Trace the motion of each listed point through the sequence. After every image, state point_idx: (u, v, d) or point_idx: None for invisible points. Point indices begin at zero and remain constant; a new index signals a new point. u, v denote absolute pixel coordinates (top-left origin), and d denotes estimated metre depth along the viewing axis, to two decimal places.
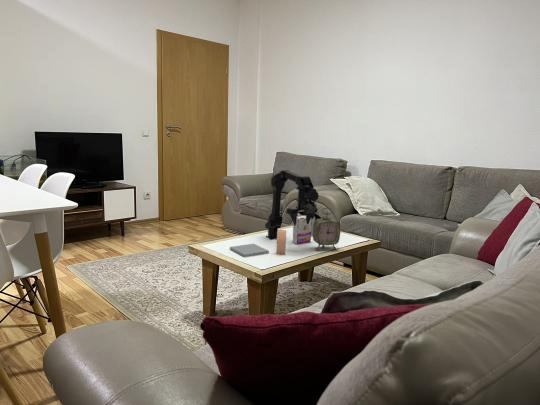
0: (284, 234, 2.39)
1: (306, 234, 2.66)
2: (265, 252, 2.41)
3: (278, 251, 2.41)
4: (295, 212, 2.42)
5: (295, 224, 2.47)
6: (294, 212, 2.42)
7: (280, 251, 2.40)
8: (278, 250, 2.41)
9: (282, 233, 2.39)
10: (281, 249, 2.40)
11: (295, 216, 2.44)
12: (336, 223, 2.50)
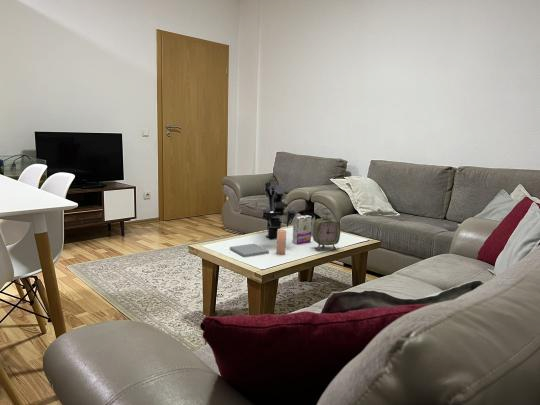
0: (284, 234, 2.39)
1: (306, 234, 2.66)
2: (265, 252, 2.41)
3: (278, 251, 2.41)
4: (267, 211, 2.50)
5: (271, 224, 2.48)
6: (265, 210, 2.50)
7: (280, 251, 2.40)
8: (278, 250, 2.41)
9: (282, 233, 2.39)
10: (281, 249, 2.40)
11: (268, 215, 2.49)
12: (336, 223, 2.50)
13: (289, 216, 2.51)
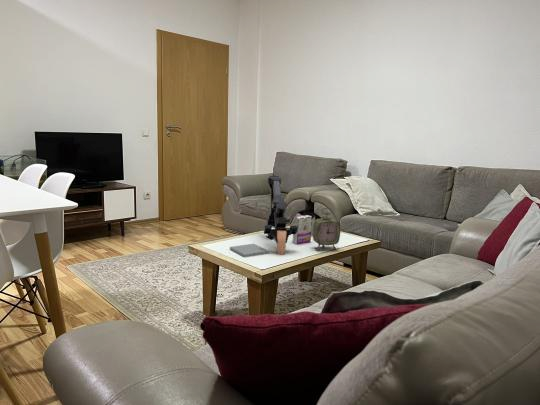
0: (284, 234, 2.39)
1: (306, 234, 2.66)
2: (265, 252, 2.41)
3: (278, 251, 2.41)
4: (268, 226, 2.42)
5: (276, 240, 2.40)
6: (267, 226, 2.42)
7: (280, 251, 2.40)
8: (278, 250, 2.41)
9: (282, 233, 2.39)
10: (281, 249, 2.40)
11: (273, 231, 2.42)
12: (336, 223, 2.50)
13: (288, 232, 2.43)
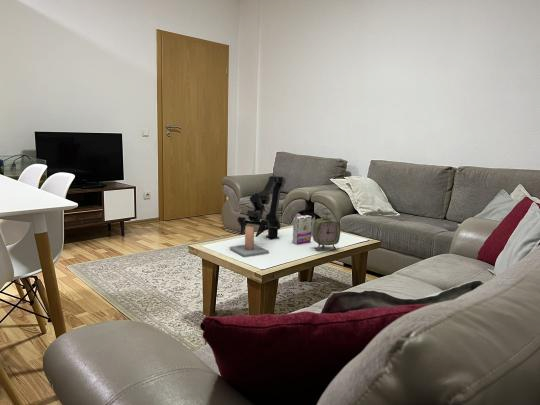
0: (250, 229, 2.40)
1: (306, 234, 2.66)
2: (265, 252, 2.41)
3: (245, 246, 2.43)
4: (240, 218, 2.46)
5: (241, 232, 2.43)
6: (239, 218, 2.46)
7: (246, 246, 2.42)
8: (245, 245, 2.43)
9: (247, 228, 2.40)
10: (247, 244, 2.41)
11: (241, 223, 2.45)
12: (336, 223, 2.50)
13: (260, 226, 2.40)
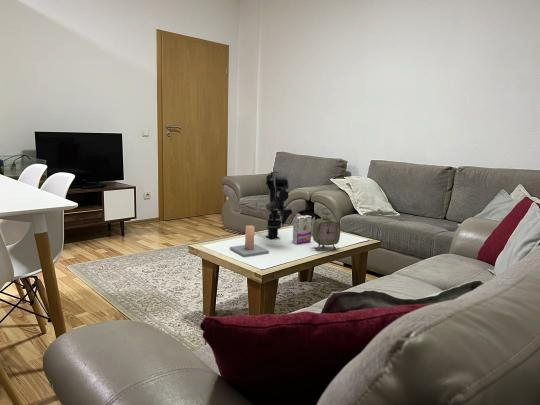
0: (250, 229, 2.40)
1: (306, 234, 2.66)
2: (265, 252, 2.41)
3: (245, 246, 2.43)
4: None
5: (272, 220, 2.62)
6: None
7: (246, 246, 2.42)
8: (245, 245, 2.43)
9: (248, 228, 2.40)
10: (247, 244, 2.41)
11: (270, 211, 2.62)
12: (336, 223, 2.50)
13: (282, 216, 2.52)
